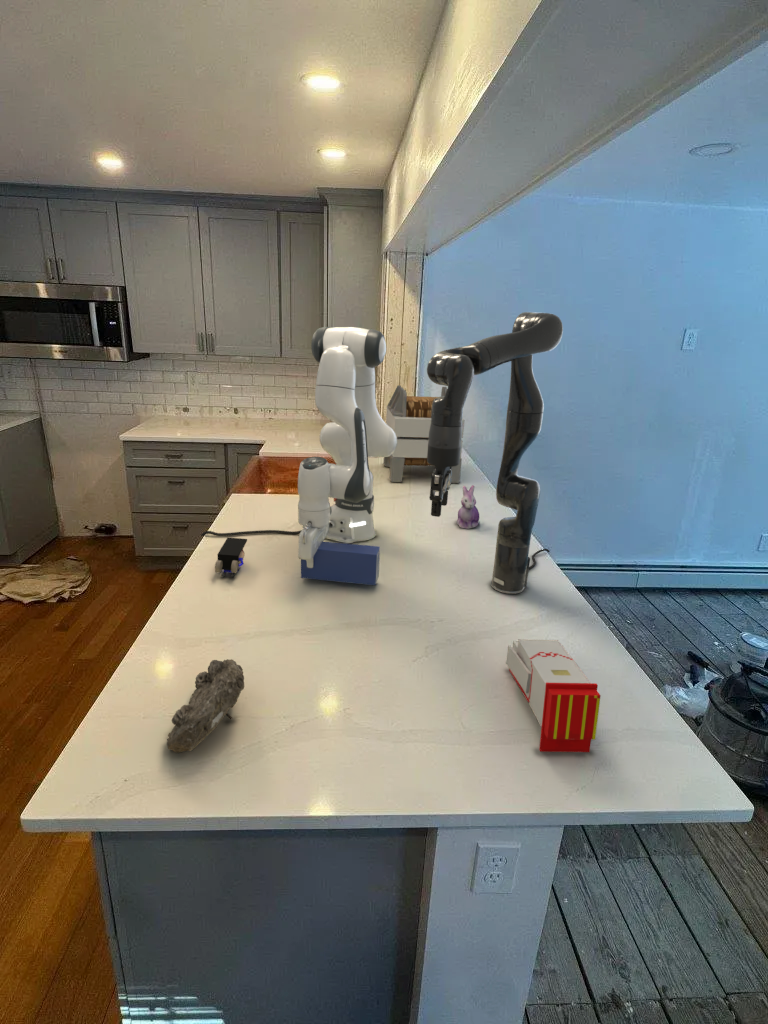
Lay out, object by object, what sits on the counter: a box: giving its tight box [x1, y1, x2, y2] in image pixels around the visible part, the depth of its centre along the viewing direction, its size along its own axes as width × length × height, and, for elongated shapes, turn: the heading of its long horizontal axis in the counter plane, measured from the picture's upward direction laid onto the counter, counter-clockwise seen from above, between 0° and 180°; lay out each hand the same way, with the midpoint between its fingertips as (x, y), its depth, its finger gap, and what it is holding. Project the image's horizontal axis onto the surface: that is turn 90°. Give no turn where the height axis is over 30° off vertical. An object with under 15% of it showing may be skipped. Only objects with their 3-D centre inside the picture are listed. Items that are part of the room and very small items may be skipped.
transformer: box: [383, 384, 465, 484], centre depth 268 cm, size 34×33×41 cm
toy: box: [505, 638, 602, 753], centre depth 114 cm, size 12×13×30 cm
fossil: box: [166, 658, 245, 754], centre depth 106 cm, size 22×10×15 cm
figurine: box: [456, 484, 480, 530], centre depth 209 cm, size 9×10×15 cm
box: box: [300, 540, 381, 586], centre depth 161 cm, size 22×6×9 cm, turn 82°
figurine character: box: [214, 537, 248, 578], centre depth 166 cm, size 7×8×15 cm
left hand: (313, 561), depth 162 cm, fingers closed on box, 6 cm apart
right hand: (439, 510), depth 135 cm, fingers open, 8 cm apart
